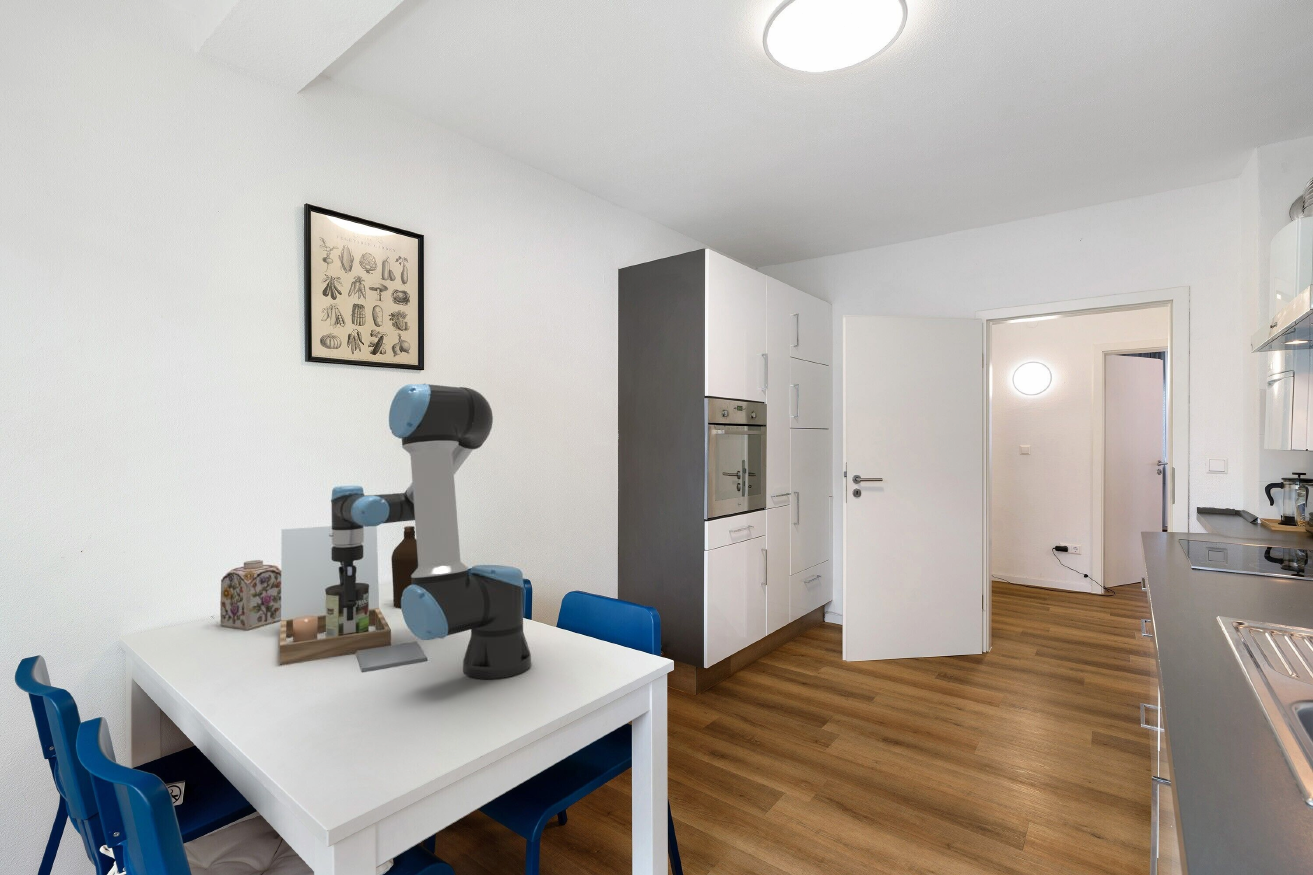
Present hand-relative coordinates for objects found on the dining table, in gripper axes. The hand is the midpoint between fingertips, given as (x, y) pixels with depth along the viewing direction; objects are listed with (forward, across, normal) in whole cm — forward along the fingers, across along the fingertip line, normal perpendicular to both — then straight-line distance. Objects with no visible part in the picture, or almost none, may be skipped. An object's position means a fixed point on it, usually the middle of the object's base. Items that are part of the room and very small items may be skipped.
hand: (347, 625), depth 161 cm
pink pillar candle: (+4, -5, -10) cm, 11 cm away
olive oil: (+4, -30, +20) cm, 36 cm away
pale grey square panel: (-12, -15, -3) cm, 20 cm away
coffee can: (+4, 0, 0) cm, 4 cm away
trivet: (+4, +20, +8) cm, 22 cm away
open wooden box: (+4, 0, -3) cm, 5 cm away
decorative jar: (+4, -32, -22) cm, 39 cm away
